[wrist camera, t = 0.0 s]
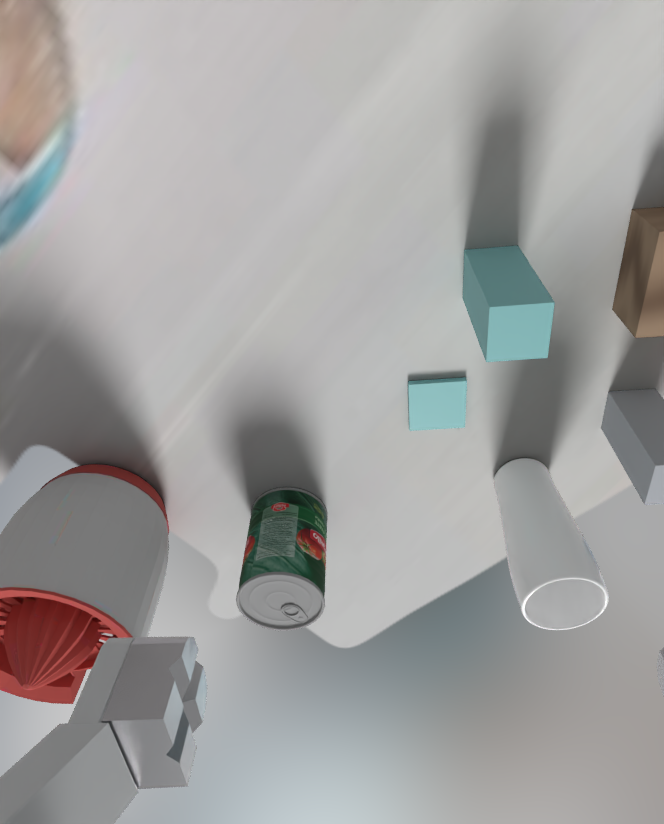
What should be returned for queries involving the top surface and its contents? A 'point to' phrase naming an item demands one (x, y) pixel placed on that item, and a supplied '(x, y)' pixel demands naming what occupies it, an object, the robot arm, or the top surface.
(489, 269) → the teal block
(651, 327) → the base block
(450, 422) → the tile
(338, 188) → the top surface
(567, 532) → the drinking glass
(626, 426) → the grey block
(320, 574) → the canned tomato
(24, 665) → the citrus juicer
